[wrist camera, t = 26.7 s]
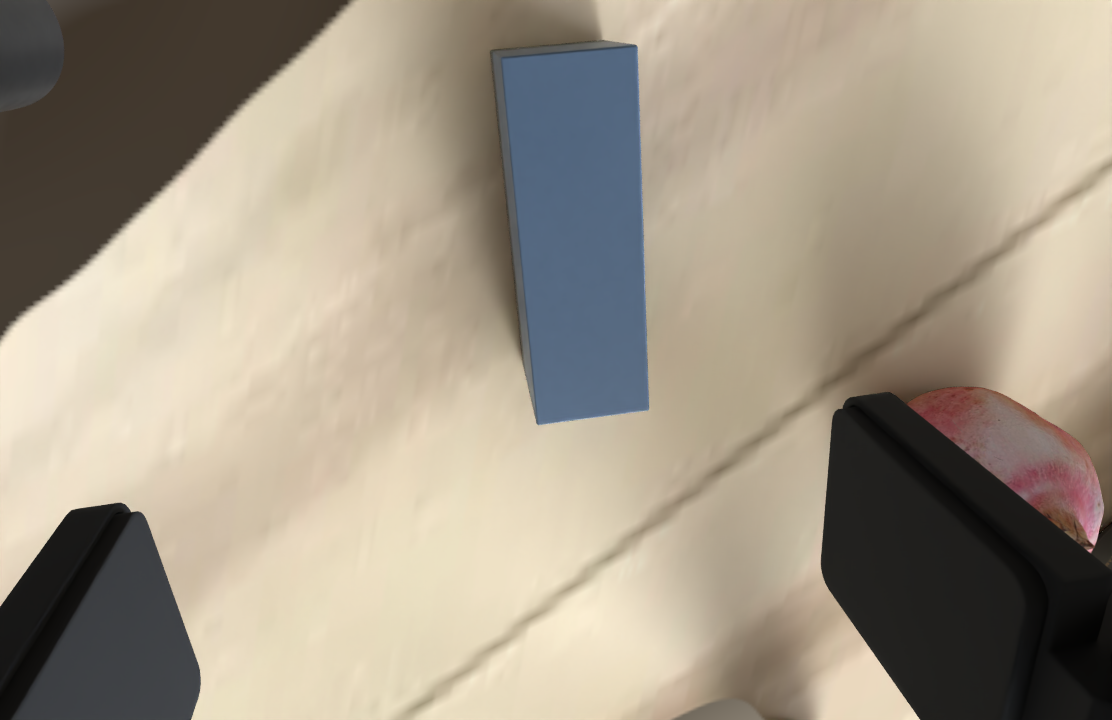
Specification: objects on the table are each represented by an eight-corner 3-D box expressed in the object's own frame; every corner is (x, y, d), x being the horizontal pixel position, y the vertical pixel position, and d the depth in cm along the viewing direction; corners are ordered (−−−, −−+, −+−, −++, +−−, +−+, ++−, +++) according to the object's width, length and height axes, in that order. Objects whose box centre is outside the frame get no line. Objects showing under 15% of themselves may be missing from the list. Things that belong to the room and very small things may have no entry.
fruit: (897, 565, 39) (1035, 732, 30) (784, 459, 35) (902, 612, 26) (1048, 443, 37) (1244, 581, 28) (945, 318, 34) (1131, 430, 24)
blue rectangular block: (619, 353, 32) (649, 411, 27) (523, 365, 32) (536, 426, 27) (604, 39, 27) (638, 44, 22) (490, 50, 27) (500, 56, 22)
